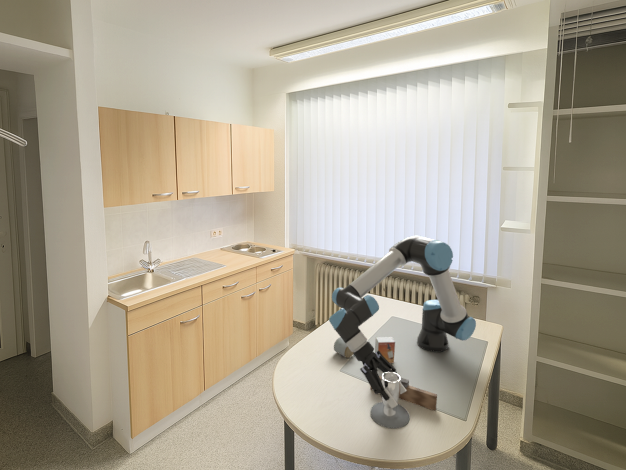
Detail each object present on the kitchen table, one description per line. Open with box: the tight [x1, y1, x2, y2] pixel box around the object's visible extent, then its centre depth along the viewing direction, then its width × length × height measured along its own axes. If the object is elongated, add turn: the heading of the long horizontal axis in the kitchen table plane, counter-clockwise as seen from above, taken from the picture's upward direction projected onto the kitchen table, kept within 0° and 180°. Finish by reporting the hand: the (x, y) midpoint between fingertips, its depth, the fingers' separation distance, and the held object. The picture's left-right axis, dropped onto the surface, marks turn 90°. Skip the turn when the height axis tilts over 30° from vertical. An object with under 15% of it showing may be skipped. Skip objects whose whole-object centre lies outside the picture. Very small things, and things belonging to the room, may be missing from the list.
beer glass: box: [381, 372, 402, 419], centre depth 136 cm, size 7×7×15 cm
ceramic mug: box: [333, 336, 354, 359], centre depth 180 cm, size 11×8×8 cm
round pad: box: [370, 401, 410, 429], centre depth 138 cm, size 14×14×1 cm
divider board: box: [370, 375, 438, 412], centre depth 147 cm, size 26×2×8 cm, turn 59°
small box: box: [374, 336, 396, 364], centre depth 174 cm, size 8×6×10 cm
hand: (399, 399), depth 135 cm, fingers open, 9 cm apart
